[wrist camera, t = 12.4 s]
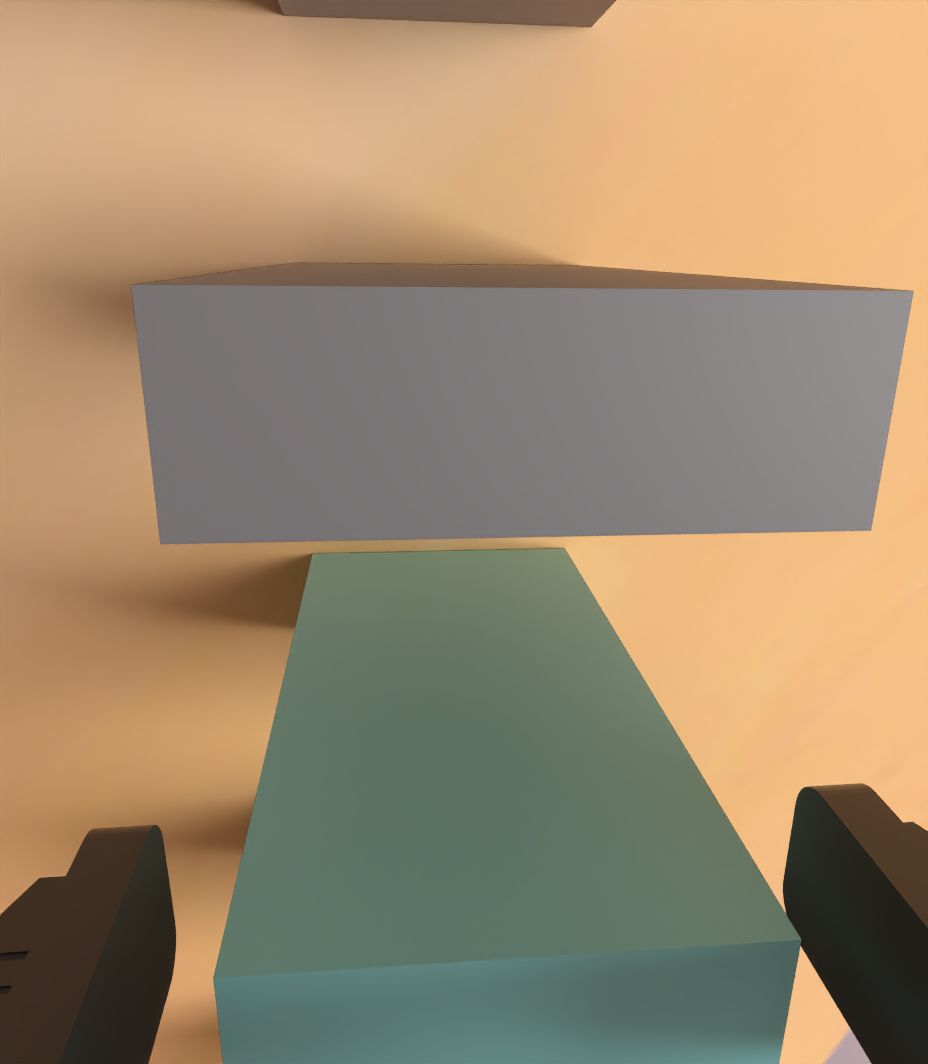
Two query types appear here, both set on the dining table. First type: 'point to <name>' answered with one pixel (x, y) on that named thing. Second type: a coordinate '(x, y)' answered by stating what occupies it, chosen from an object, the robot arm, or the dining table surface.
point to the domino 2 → (487, 841)
